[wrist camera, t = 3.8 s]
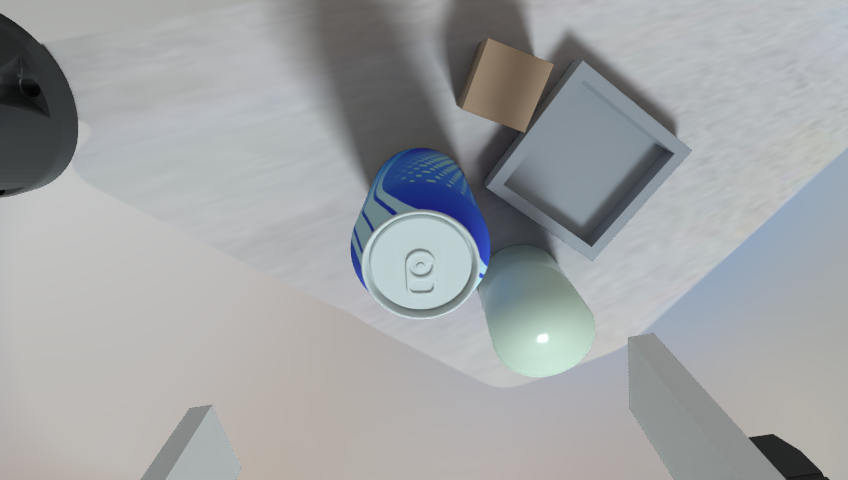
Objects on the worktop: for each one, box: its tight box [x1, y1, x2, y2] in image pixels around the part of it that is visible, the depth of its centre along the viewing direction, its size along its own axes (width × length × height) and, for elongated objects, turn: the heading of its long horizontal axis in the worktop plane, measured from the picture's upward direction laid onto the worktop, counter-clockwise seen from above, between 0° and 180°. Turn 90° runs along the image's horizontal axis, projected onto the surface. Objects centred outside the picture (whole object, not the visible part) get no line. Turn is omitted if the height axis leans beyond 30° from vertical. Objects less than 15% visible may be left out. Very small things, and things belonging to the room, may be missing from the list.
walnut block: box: [457, 38, 554, 133], centre depth 33 cm, size 5×5×5 cm
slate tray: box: [483, 60, 692, 261], centre depth 37 cm, size 12×12×2 cm
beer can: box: [351, 148, 490, 319], centre depth 31 cm, size 8×8×16 cm
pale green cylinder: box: [478, 245, 595, 377], centre depth 38 cm, size 8×8×9 cm
